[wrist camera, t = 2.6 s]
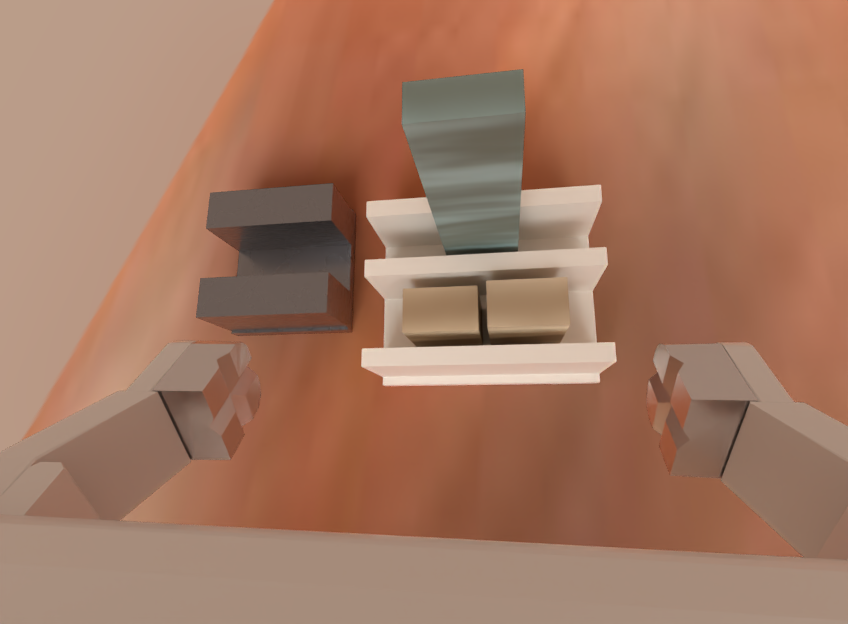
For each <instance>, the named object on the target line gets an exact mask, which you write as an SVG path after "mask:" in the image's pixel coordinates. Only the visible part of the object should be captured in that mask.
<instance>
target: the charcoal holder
mask: <svg viewBox="0 0 848 624" xmlns="http://www.w3.org/2000/svg"><path fill="white" fill-rule="evenodd" d="M206 229H208V230H209V231H210V232H212V233H213V234H215V235H216V236H218V237H219V238H221V239H222V240H223V241H225V242H226V243H228V244H229V245H231V246H232V247H234V248H235V249H236V250H238V251H239V261H238V271H237V277H217V278H200V287H199V296H198V305H197V313H196V318H199V319H202V320H204V321H207V322H209V323H212V324H215V325H217V326H220V327H222V328H225V329H228V330H230V331H232V334H234V335H237V336H247V335H279V334H312V333H344V332H352V311H353V284H354V258H355V231H356V214H355V212H354V211H353V209H352V210H351V209H350V207H349V206H348V204H347V203H346V201H345V200H344V198H343V197H342V195H341V194H340V193H339V191H338V190H337V188H336V187H335V185H334V184H333V183H329V184H316V185H303V186H290V187H278V188H265V189H252V190H240V191H227V192H214V193H210V199H209V208H208V217H207V226H206Z"/></svg>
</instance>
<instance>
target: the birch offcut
mask: <svg viewBox="0 0 848 624" xmlns="http://www.w3.org/2000/svg"><path fill="white" fill-rule="evenodd" d="M402 333H403V334H404V335H405V336H406V337H407V338H408V339H409V340H410V341H411V342H412V343H413V344H414V345H415V346H416V347H443V346H482V345H483V330H482V306H481V301H480V296H479V291H478V286H454V287H431V288H408V289H403V312H402Z"/></svg>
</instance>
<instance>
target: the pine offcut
mask: <svg viewBox="0 0 848 624" xmlns="http://www.w3.org/2000/svg"><path fill="white" fill-rule="evenodd" d="M486 291H487V326H488V332H489V338H490V343H491V345H522V344H560V342H561V340H562V339H563V337H564V335H565V333H566V331H567V330H568V328H569V326H570V310H569V295H568V281H567V277H557V278H535V279H513V280H491V281H486Z"/></svg>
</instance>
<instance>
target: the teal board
mask: <svg viewBox="0 0 848 624" xmlns="http://www.w3.org/2000/svg"><path fill="white" fill-rule="evenodd" d="M402 126H403V129H404V132H405V135H406V138H407V141H408V144H409V147H410V150H411V153H412V156H413V159H414V162H415V165H416V168H417V171H418V174H419V177H420V179H421V182H422V185H423V188H424V191H425V194H426V197H427V200H428V203H429V206H430V209H431V212H432V215H433V218H434V221H435V224H436V227H437V230H438V233H439V236H440V238H441V241H442V244H443V247H444V250H445V253H446V256H448V255H466V254H485V253H504V252H518V240H519V222H520V204H521V185H522V167H523V149H524V130H525V94H524V74H523V69H521V70H512V71H503V72H493V73H484V74H475V75H466V76H456V77H447V78H438V79H429V80H420V81H410V82H402Z"/></svg>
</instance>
